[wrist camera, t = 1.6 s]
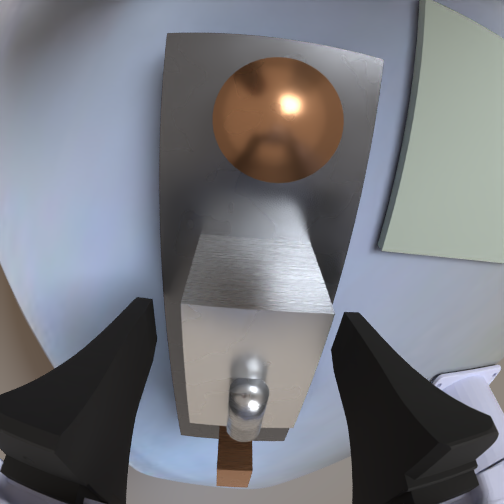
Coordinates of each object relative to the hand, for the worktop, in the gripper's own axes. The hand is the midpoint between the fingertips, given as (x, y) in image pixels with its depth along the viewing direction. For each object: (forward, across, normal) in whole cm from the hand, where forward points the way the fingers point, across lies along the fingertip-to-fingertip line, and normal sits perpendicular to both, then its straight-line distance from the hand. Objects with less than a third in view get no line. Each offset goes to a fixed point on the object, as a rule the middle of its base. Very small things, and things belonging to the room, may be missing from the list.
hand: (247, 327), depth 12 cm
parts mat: (+4, -11, -8) cm, 14 cm away
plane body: (+4, 0, +1) cm, 4 cm away
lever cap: (+1, 0, 0) cm, 1 cm away
